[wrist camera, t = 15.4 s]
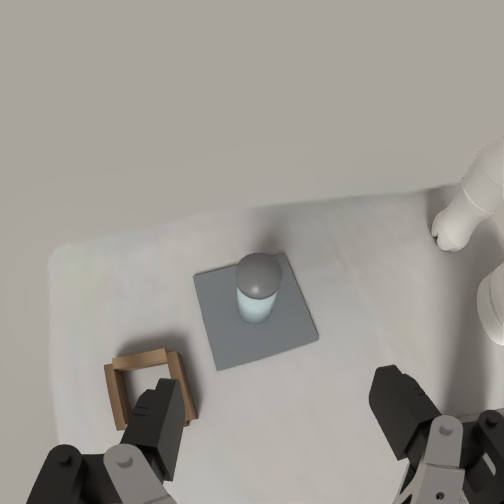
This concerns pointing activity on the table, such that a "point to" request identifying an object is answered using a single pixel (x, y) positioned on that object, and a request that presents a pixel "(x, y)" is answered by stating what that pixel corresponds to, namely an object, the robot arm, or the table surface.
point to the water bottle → (472, 199)
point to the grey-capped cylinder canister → (257, 286)
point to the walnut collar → (139, 362)
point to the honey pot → (492, 304)
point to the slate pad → (247, 334)
